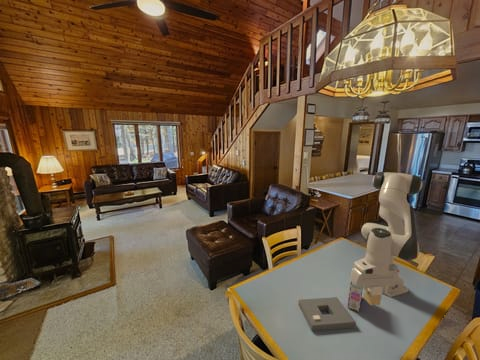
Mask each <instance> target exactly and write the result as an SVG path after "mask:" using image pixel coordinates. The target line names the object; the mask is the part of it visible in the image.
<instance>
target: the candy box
mask: <svg viewBox="0 0 480 360" xmlns="http://www.w3.org/2000/svg"><path fill="white" fill-rule="evenodd" d="M354 268H355V267H352V269H351V271H352V270H353V269H354ZM351 275H352V272H351ZM363 290H364V288H363V287H358V288H357V287H356V286H355V285H354V284H353V283H352V282H351V280H350V282H349V291H348V302H347V308H348V309H350V310H352V311H355V312H356V313H357V312H358V313H360V312H361V304H362V303H361V301H362V297H363Z"/></svg>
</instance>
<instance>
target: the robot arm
mask: <svg viewBox="0 0 480 360" xmlns="http://www.w3.org/2000/svg"><path fill="white" fill-rule="evenodd" d="M372 185H373V187H374V188H375V189H376V190H379V194H378V202H379V204H380V206H379V211H378V215H379V217H380V218H382V219H383V220H384V221H385V222H386V223H387V225H388V226H386V225H383V224H379V223H375V222H366V223H364V224H363V225H362V227H361V229H360V231H361V235H362V237H363V238H364V239H365V240H366V241H365V245H366V253H365V257H363V258H361V259H358V260H356V261H353V268H354V269H353V270H352V269H351V273H352V275H351V276H350V281H351V282H352V283H353V284H354V285H355V286H356V287H357V288H358V287H363V294H364V293H365V294H366V295H367V294H370V291H369V290H368V289H367V288H368V287H372V286H383V288H382V294H383V295H385V296H387V297H390V298H391V297H396V296H399V295H403V294H407V293H408V292H409V289H408V287H406V285H405V284H404V283H405V282H404V280H403V279H402V278H401V276H399V272H400V270H399V267H398V265H396V264H395V263H394V262H395V257H396V258H398V259H402V260H405V261H407V262H408V261H409V262H411V261H414V260H415V259H417V258H418V256H419V254H420V246H419V245H420V244H419V242H418V237H417V225H416V214H415V208H414V206H413V205H412V204H410V203H409V202H408V200H407V196H408V197H410V196H413V195H416V194H419V193H420V191H422V188H423V185H424V183H423V179H422V178H421V176H419V175H417V174H408V173H403V172H385V171H379V172H376V173H375V174H374V176H373V177H372Z"/></svg>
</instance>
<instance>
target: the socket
mask: <svg viewBox="0 0 480 360" xmlns="http://www.w3.org/2000/svg"><path fill="white" fill-rule="evenodd" d="M298 306H299V310H301V312H302V315H303V317H304V319H305V320H306V323H307V325H308V327H309V330H310V331H311V332H314V331H326V330H337V329H349V328H351V329H352V328H355V327H356V324H357V321H356V320H355V319H354V318H353V316H352V315H351V313H350V312H349V311H348V310H347V308H346V307H345V306H344V304H343V303H342V302H341V300H340V299H339V298H338V297H337V296H334V297H319V298H308V299H307V298H305V299H303V298H302V299H298ZM322 311H327V312H328V313H329V314H323V313H322Z"/></svg>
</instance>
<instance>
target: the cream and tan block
mask: <svg viewBox="0 0 480 360" xmlns="http://www.w3.org/2000/svg"><path fill="white" fill-rule="evenodd" d="M382 288H383V286H372V287H368V288H367V289H368V290H369V291H370V294H367V295H366V294H365V293H364V292H363V299H364V300H365V301H366V302H367V303H368V305H370V306H378V305H379V306H380V305H381V300H382Z"/></svg>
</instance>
